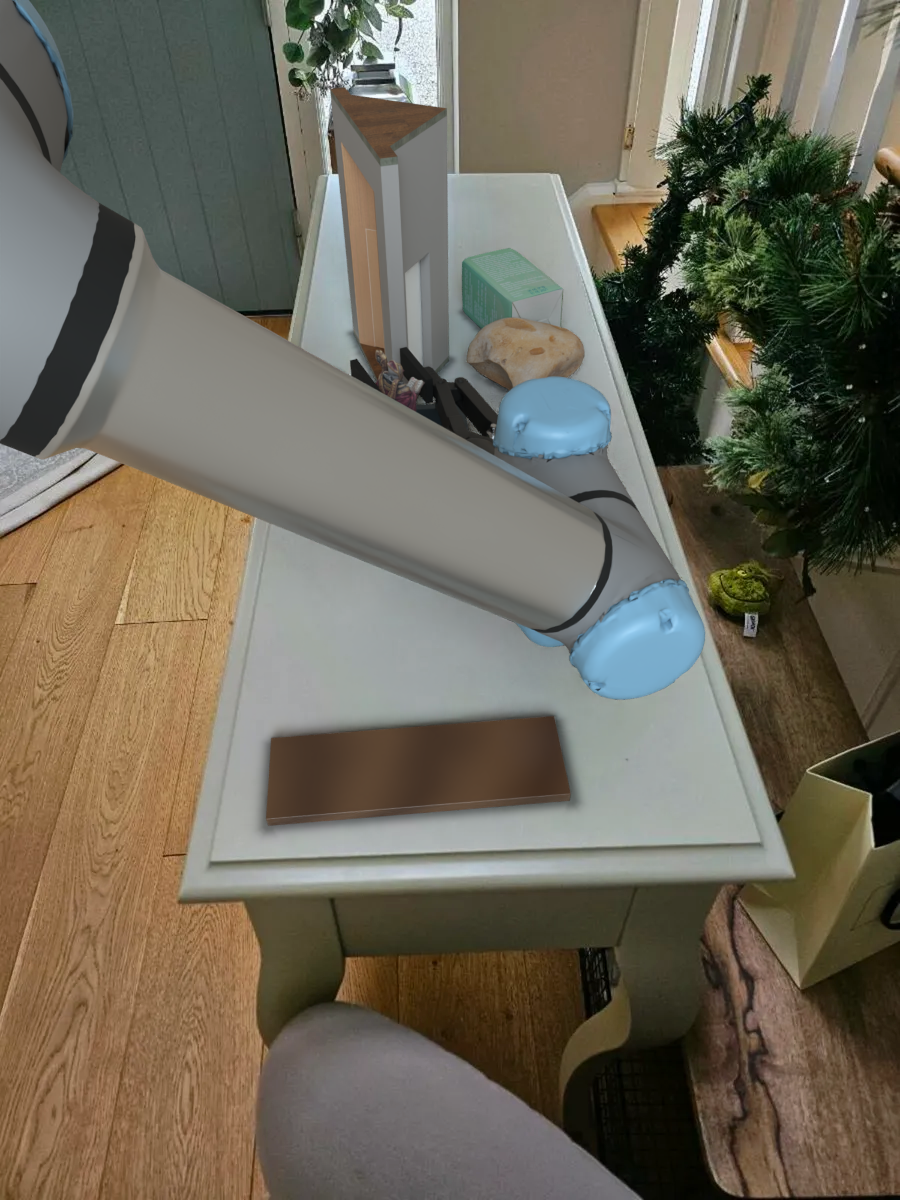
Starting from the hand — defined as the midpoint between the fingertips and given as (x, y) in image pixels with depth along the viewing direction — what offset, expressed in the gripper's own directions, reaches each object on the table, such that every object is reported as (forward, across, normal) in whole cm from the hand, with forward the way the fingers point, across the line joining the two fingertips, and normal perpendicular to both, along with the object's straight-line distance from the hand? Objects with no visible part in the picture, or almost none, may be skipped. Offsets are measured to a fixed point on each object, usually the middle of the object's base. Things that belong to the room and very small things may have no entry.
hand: (379, 365), depth 87 cm
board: (-40, -14, -9) cm, 43 cm away
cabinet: (+12, +8, -9) cm, 17 cm away
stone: (+4, +19, -9) cm, 22 cm away
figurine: (-5, 0, -8) cm, 9 cm away
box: (+16, +24, -9) cm, 30 cm away
